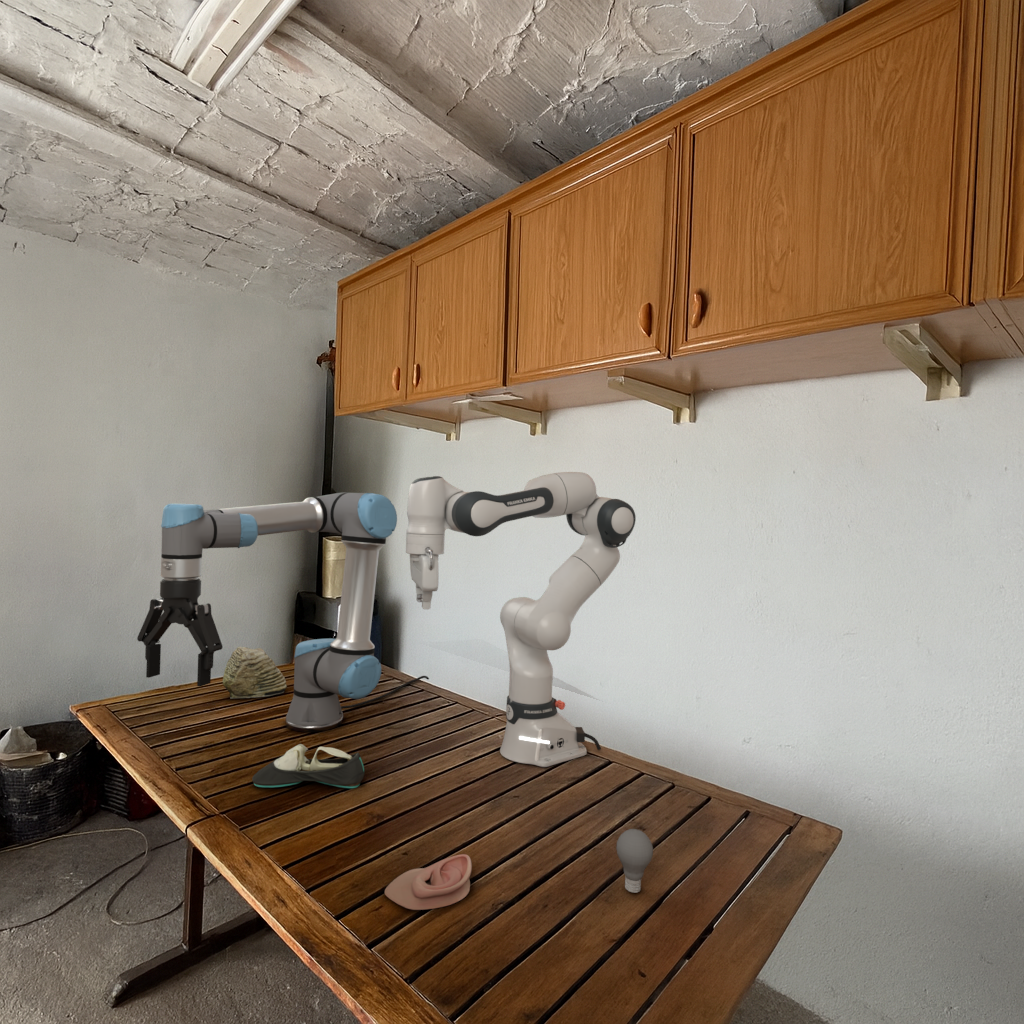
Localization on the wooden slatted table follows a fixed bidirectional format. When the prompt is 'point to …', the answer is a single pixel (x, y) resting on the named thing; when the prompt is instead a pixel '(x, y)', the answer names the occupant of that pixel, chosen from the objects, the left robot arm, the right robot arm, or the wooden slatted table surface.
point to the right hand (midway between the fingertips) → (423, 605)
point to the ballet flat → (312, 769)
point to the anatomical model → (432, 884)
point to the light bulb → (634, 857)
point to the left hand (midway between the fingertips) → (178, 680)
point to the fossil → (252, 674)
